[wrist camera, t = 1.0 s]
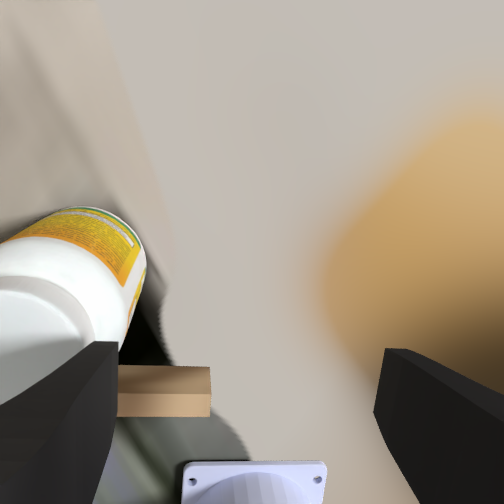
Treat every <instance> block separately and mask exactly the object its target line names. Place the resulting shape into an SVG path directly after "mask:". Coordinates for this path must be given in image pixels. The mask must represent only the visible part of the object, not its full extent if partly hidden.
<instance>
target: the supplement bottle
mask: <svg viewBox="0 0 504 504" xmlns="http://www.w3.org/2000/svg"><path fill="white" fill-rule="evenodd" d="M145 274H146V257H145V252H144V249H143V246H142V244H141V242H140V240H139V238H138V236H137V235H136V233H135V232H134V231H133V230H132V229H131V228H130V227H129V226H128V225H127V224H126V223H125V222H124V221H122V220H121V219H120V218H118V217H117V216H115V215H113V214H112V213H110V212H107V211H105V210H102V209H99V208H94V207H86V206H77V207H70V208H65V209H62V210H59V211H57V212H55V213H53V214H51V215H49V216H47V217H45V218H43V219H41V220H40V221H38V222H36V223H35V224H33V225H31V226H29V227H28V228H26V229H24V230H23V231H21V232H19V233H18V234H16V235H14V236H13V237H11V238H9V239H7V240H6V241H4V242H2V243H1V244H0V405H1V404H3V403H5V402H6V401H8V400H10V399H12V398H13V397H15V396H17V395H18V394H20V393H22V392H23V391H25V390H26V389H28V388H29V387H31V386H32V385H34V384H35V383H37V382H38V381H40V380H41V379H43V378H44V377H46V376H47V375H49V374H50V373H52V372H53V371H54V370H56V369H57V368H58V367H60V366H61V365H63V364H64V363H65V362H67V361H68V360H69V359H71V358H72V357H73V356H74V355H76V354H77V353H78V352H80V351H81V350H82V349H84V348H85V347H86V346H87V345H89V344H90V343H92V342H93V341H118V342H119V349H118V352H119V350H120V348H121V346H122V344H123V341H124V339H125V336H126V333H127V330H128V327H129V324H130V322H131V319H132V316H133V313H134V310H135V307H136V304H137V301H138V298H139V295H140V293H141V290H142V286H143V283H144V279H145Z"/></svg>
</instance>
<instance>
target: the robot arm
mask: <svg viewBox="0 0 504 504" xmlns="http://www.w3.org/2000/svg"><path fill="white" fill-rule="evenodd" d="M118 349H119V342H118V341H93V342H92V343H90V344H89V345H87V346H86V347H85V348H84V349H82V350H81V351H80V352H78V353H77V354H76V355H74V356H73V357H72V358H71V359H69V360H68V361H67V362H65V363H64V364H63V365H61V366H60V367H58V368H57V369H56V370H54V371H53V372H52V373H50V374H49V375H47V376H46V377H44V378H43V379H41V380H40V381H38V382H37V383H35V384H34V385H32V386H31V387H29V388H28V389H26V390H25V391H23V392H22V393H20V394H18V395H17V396H15V397H13V398H12V399H10V400H8V401H6V402H5V403H3V404H1V405H0V504H92V502H93V499H94V496H95V493H96V490H97V487H98V484H99V481H100V478H101V475H102V472H103V469H104V466H105V463H106V460H107V457H108V454H109V450H110V447H111V443H112V438H113V433H114V428H115V422H116V417H117V412H118ZM373 413H374V416H375V418H376V421H377V424H378V426H379V429H380V431H381V434H382V436H383V438H384V441H385V443H386V445H387V447H388V449H389V451H390V453H391V454H392V456H393V458H394V460H395V461H396V463H397V465H398V467H399V468H400V470H401V472H402V474H403V475H404V477H405V479H406V480H407V482H408V484H409V486H410V487H411V489H412V491H413V492H414V494H415V496H416V497H417V499H418V501H419V503H420V504H504V395H502V394H500V393H498V392H496V391H494V390H492V389H489V388H487V387H485V386H483V385H481V384H479V383H477V382H475V381H473V380H471V379H469V378H467V377H465V376H463V375H461V374H459V373H457V372H455V371H453V370H451V369H449V368H447V367H445V366H443V365H441V364H439V363H438V362H436V361H433V360H431V359H429V358H427V357H425V356H423V355H421V354H419V353H416V352H414V351H411V350H408V349H393V348H391V349H390V348H385V352H384V358H383V363H382V368H381V374H380V379H379V385H378V390H377V395H376V400H375V406H374V411H373ZM316 476H319V477H318V478H316V479H315V477H316ZM326 476H327V468H326V465H325V464H324V462H322V461H224V462H190V463H188V464H186V465H185V467H184V470H183V485H182V500H181V504H322V500H323V494H324V488H325V482H326ZM190 478H195V480H193V481H191V480H189V479H190Z"/></svg>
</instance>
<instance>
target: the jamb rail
mask: <svg viewBox="0 0 504 504" xmlns="http://www.w3.org/2000/svg"><path fill="white" fill-rule="evenodd" d="M210 405H211V382H210V367H191V366H190V367H189V366H141V365H118V412H117V417H210Z"/></svg>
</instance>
